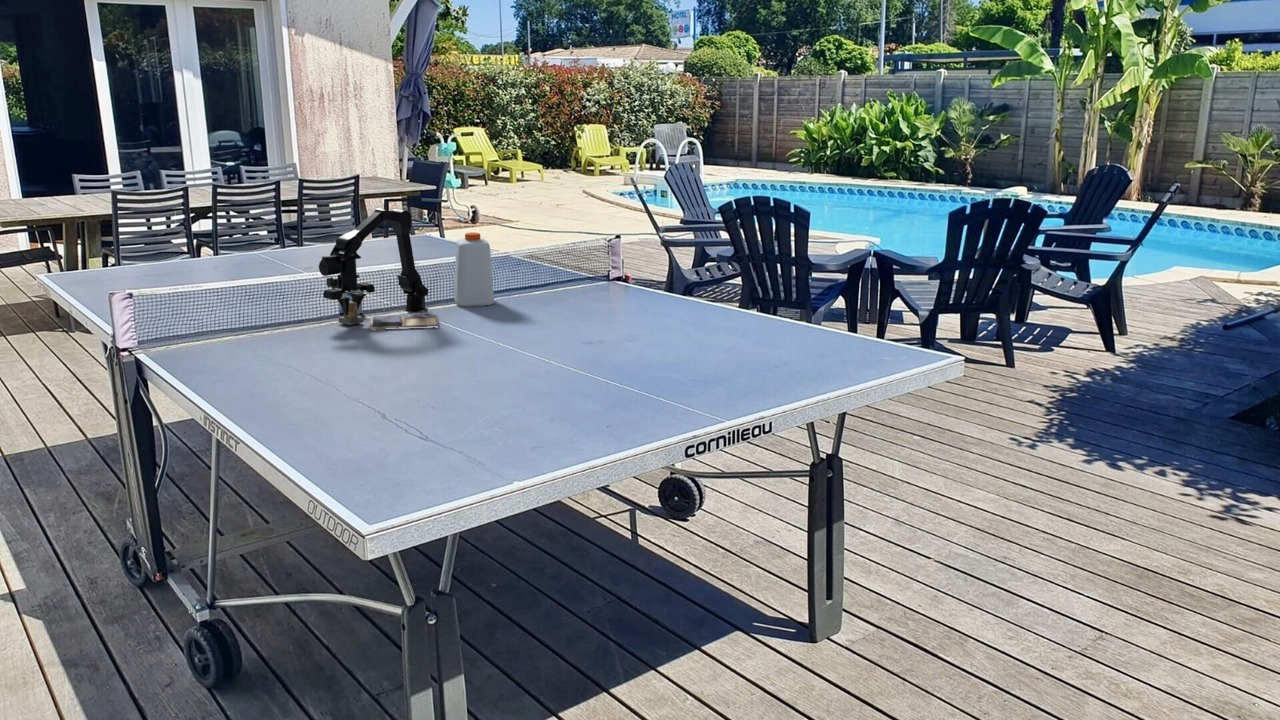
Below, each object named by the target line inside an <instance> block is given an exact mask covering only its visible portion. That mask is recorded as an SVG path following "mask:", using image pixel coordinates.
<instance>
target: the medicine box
mask: <svg viewBox="0 0 1280 720" xmlns="http://www.w3.org/2000/svg"><path fill="white" fill-rule="evenodd" d="M351 291H352V290H351ZM345 292H348V291H345ZM346 295H347V298H349V301H352V297H351V295H350V294H346ZM338 311H339V313H340V314H342V313H344V312H343V309H342V307H341V305H340V303H339V302H338ZM357 312H358V313H362V314H363V301H362V302H361V304H360V306H359V308H358V310H357Z"/></svg>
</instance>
